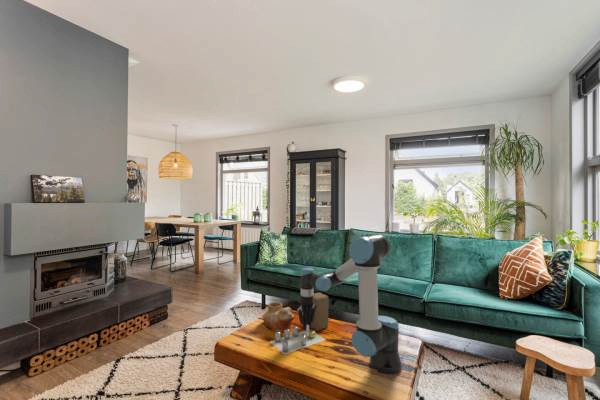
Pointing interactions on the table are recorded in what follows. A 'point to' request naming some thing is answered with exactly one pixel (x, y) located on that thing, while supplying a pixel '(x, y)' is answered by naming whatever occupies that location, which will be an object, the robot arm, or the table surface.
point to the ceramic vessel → (278, 317)
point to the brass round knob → (311, 334)
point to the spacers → (287, 337)
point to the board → (297, 342)
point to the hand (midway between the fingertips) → (306, 335)
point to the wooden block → (320, 311)
